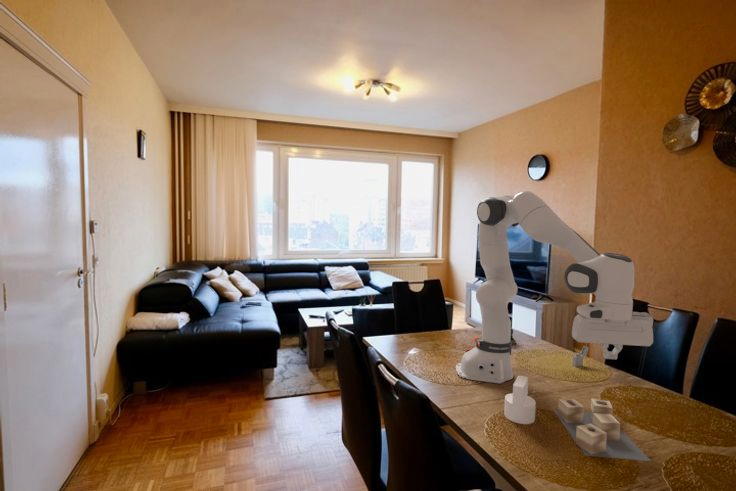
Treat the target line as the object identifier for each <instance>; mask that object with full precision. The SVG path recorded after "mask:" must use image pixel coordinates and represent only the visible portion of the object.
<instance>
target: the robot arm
mask: <svg viewBox="0 0 736 491" xmlns="http://www.w3.org/2000/svg"><path fill="white" fill-rule="evenodd" d="M476 215H477V219H478V220H479V223H478V235H477V236H478V237H477V238H478V250H479V253H478V254H479V262H480V265H481V267H482V269H483V271H484V275H485V278H486V281H484V282H482V283H481V284H480V285H479V286H478V287H477V289H476V292H475V299H476V301H477V303H478V305H479V309H480V314H481V337H479V336H474V337H473V341H474V342H475V347H473V348H471V349H470V350H468V351H466V352H465V353H464V354H463V355H462V357H461V362H459V363H457V364H456V365H455V368H456V370H455V373H456V372H457V373H456V375H457V374H458V375H459V376H458V375H457V376H458V377H460V378H461V377H462V378H461V379H464V378H466V380H472V381H479V382H485V383H486V382H487V383H492V384H493V383H494V384H500V385H501V384H503V383H504V382H507V381H510V380H512V379H513V378H514V374H513V373H514V372H513V369H512V362H511V361H512V360H511V355H512V351H513V350H512V346H513V345H512V344H511V341H510V338H511V328H512V321H511V319H510V316H509V315H510V314H509V310H508V307H509V306H508V305H509V303H511V302H512V301H513V300H515V297H517V294H518V288H519V287H518V285H517V283H516V282H515V278H514V273H513V269H512V267H511V263H510V252H509V243H508V242H509V240H508V235H507V234H508V232H507V231H508V229H509V227H511V226H512V227H514V228H515V227H517V226H520V227H521V229H522V230H523V231H524V233H525V234H526V235H527V236H528V237H530V238H531V239H532V240H534V241H536V242H538V243H542V244H547V245H551V246H555V247H558V248H561V249H562V250H564V251H566V252H567V253H568V254H570V256H572V258H573V259H574V260H575V261H576V262H575V263H572V264H569V265H568V267H567V268H566V269H565V271H564V275H563V279H564V283H565V286H566V287H567V289H568V290H569V291H570V292H572V293H574V294H577V295H578V294H579V295H589V294H590V295H591V294H593V295H594V296H595V301H593V302H590V303H586V304H581V305H578V306H577V307H576V313H578V314H577V315H575V316H574V318H573V323H572V328H571V337H572V338H573V339H574V340H575V341H576V342H577V343H583V344H584V343H585V344H586V343H587V344H589V343H590V344H599V346H600V349H601V350H602V351H603V355H602V356H603V358H604V359H606V360H617V359H618V355H619V353H620V352H621V351H622V349H623V346H636V347H637V346H638V347H639V346H640V347H651V346H652V344H654V328H653V325H654V318H653V315H651V314H650V313H648V312H639V311H633V306H634V300H633V291H634V289H635V280H636V279H635V277H636V276H635V265H634V261H633V260H632V258H630V257H628V256H627V255H623V254H621V253H614V252H603V253H601V254H600V253H599V252H598V251H597V250H596V249H595V248H594V247H593V246H591V244H590V243H588V242H587V241H586V239H584V238H583V237H582V236H581V235H580V234H579V233H578V232H576V231H575V230H574V229H573V228H571V227H570V225H569V224H567V223H566V222H565V221H564V220H562V219H561V218H560V216H558V215H557V213H555V211H554V210H553V209H552V208H551V207H550V206H549V205H548V204H547V203H546V201H544V200H543V199H542V198H541V197H539V196H538V195H537V194H535V193H534V192H532V191H529V190H523V191H520V192H518V193H517V194H515V195H502V196H496V197H493V196H491V197H490V196H489V197H487V198H486V197H485V198H484V199H482V200H481V201H480V202H479V203H478V205H477V209H476ZM609 345H613V346H614V348H613V349H612V351H609V350H608V349H607V348H609Z"/></svg>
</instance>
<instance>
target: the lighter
mask: <svg viewBox="0 0 736 491" xmlns="http://www.w3.org/2000/svg"><path fill="white" fill-rule="evenodd" d="M589 349H590V347H588V346H586V345H583V346H582V348H581V351H580V353H579V352H576V353H575V354H574V355H572V366H573V367H576V368H577V367H582V366H584V365H583V364H584V357H585V358H586V357H587V355H588V352H589Z"/></svg>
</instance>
